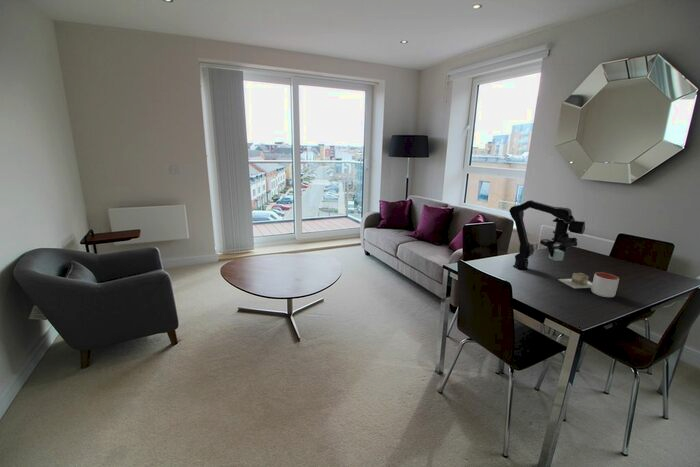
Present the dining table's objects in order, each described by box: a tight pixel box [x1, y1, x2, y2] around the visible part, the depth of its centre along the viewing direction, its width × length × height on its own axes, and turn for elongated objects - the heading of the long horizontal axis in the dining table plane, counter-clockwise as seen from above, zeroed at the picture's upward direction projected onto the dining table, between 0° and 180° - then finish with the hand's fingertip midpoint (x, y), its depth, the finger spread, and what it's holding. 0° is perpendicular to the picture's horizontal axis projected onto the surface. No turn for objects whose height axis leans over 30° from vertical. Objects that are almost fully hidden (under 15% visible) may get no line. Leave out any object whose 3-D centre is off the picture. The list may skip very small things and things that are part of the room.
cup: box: [590, 272, 620, 298], centre depth 164 cm, size 10×10×10 cm
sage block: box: [548, 248, 565, 262], centre depth 184 cm, size 5×5×5 cm
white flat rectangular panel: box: [557, 278, 593, 289], centre depth 178 cm, size 16×12×1 cm
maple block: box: [571, 272, 590, 285], centre depth 177 cm, size 5×5×5 cm
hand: (555, 257), depth 184 cm, fingers closed on sage block, 5 cm apart
